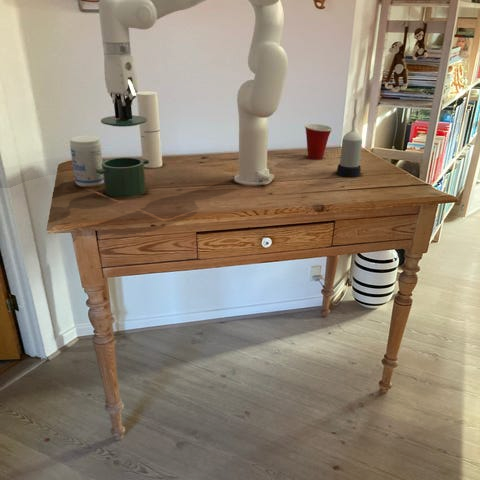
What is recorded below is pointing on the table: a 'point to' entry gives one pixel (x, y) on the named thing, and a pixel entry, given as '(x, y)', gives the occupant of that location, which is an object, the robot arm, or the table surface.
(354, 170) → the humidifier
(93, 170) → the supplement tub
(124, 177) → the green cooking pot
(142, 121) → the lid
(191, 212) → the table surface
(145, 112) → the cylindrical container
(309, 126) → the plastic cup
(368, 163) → the table surface
